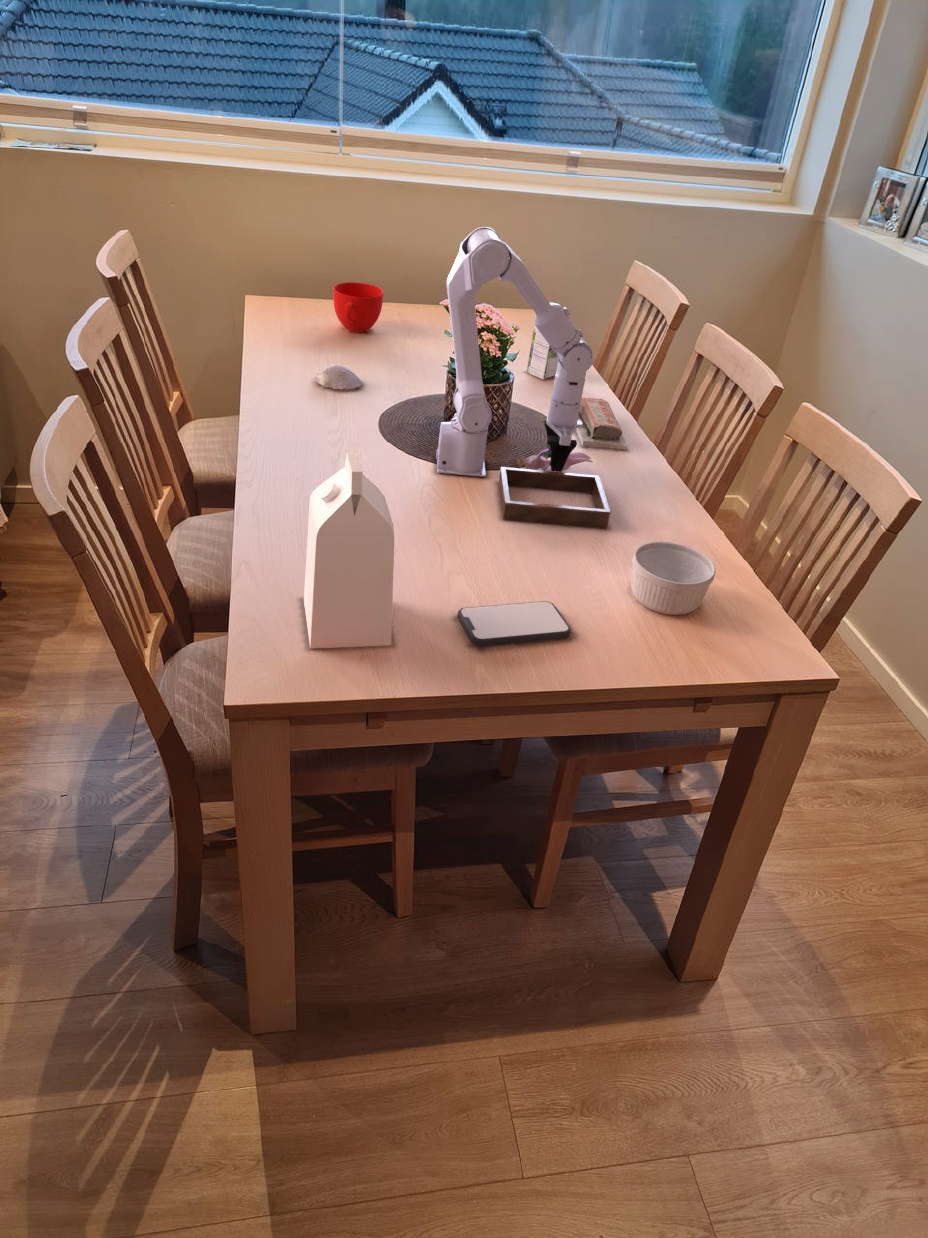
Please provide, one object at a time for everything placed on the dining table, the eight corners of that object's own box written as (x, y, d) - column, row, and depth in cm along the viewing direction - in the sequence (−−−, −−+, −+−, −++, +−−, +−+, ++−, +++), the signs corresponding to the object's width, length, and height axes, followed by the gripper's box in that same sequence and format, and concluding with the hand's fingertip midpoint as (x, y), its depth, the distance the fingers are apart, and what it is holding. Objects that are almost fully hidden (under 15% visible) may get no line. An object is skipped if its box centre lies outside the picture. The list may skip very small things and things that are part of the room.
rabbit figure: (520, 481, 186) (595, 474, 187) (520, 454, 183) (596, 447, 183) (516, 467, 191) (588, 460, 192) (515, 440, 188) (589, 433, 189)
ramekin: (610, 581, 156) (618, 545, 152) (675, 571, 161) (685, 536, 157) (653, 626, 147) (663, 588, 143) (721, 614, 152) (732, 577, 148)
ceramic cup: (321, 336, 239) (322, 296, 233) (339, 317, 253) (340, 279, 247) (371, 344, 238) (373, 304, 233) (386, 324, 252) (388, 287, 246)
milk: (391, 645, 135) (404, 482, 120) (310, 648, 132) (314, 482, 117) (379, 598, 144) (390, 442, 130) (303, 600, 142) (306, 441, 127)
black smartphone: (549, 607, 148) (454, 615, 143) (551, 599, 147) (455, 607, 142) (572, 640, 141) (473, 650, 136) (574, 632, 140) (474, 641, 135)
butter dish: (571, 393, 212) (614, 397, 213) (567, 414, 215) (610, 417, 216) (585, 426, 197) (631, 430, 198) (581, 447, 200) (626, 451, 201)
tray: (502, 520, 169) (505, 502, 167) (497, 482, 182) (500, 466, 180) (607, 529, 171) (610, 512, 169) (595, 491, 183) (599, 475, 181)
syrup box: (540, 368, 238) (549, 311, 229) (558, 376, 234) (568, 318, 226) (525, 372, 234) (534, 314, 226) (543, 380, 231) (553, 321, 223)
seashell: (304, 369, 210) (332, 349, 216) (307, 390, 214) (335, 371, 220) (340, 381, 206) (367, 361, 212) (342, 402, 210) (369, 382, 216)
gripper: (591, 416, 175) (578, 481, 182) (581, 387, 186) (569, 450, 194) (554, 412, 174) (542, 478, 182) (546, 383, 186) (536, 447, 194)
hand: (554, 463), depth 188 cm, fingers closed on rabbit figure, 6 cm apart
